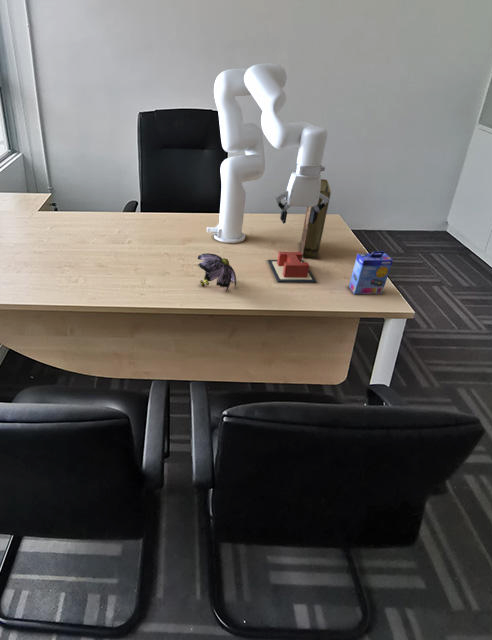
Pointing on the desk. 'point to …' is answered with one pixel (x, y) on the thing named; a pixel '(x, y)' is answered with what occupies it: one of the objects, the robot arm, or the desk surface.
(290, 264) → the letter I
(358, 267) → the ink cartridge box
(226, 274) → the decorative flower
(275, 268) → the desk mat
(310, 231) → the book
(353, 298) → the desk surface
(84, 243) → the desk surface
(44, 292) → the desk surface
